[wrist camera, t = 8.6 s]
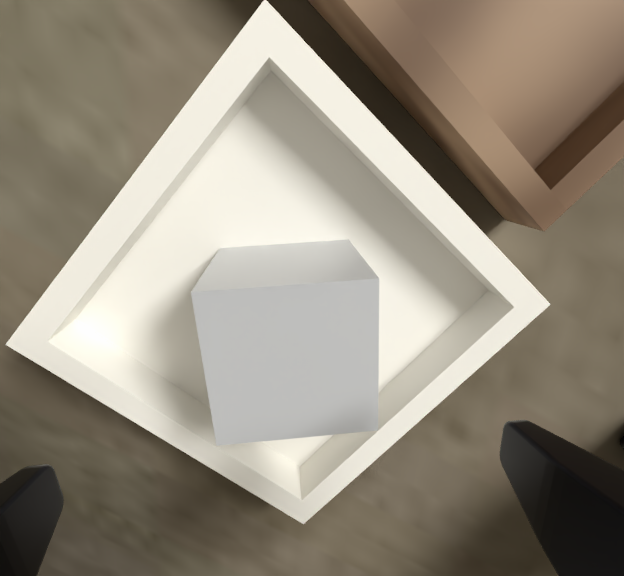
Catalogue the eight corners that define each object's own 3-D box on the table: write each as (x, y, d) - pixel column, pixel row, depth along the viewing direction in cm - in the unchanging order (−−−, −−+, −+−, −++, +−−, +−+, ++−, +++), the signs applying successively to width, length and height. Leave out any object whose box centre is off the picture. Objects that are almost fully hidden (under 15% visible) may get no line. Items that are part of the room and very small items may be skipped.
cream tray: (512, 283, 17) (550, 304, 14) (300, 479, 20) (303, 524, 17) (268, 26, 13) (265, -2, 11) (46, 315, 16) (5, 344, 13)
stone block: (348, 239, 15) (379, 278, 10) (350, 352, 17) (378, 430, 12) (220, 248, 15) (190, 292, 10) (235, 361, 16) (216, 445, 12)
